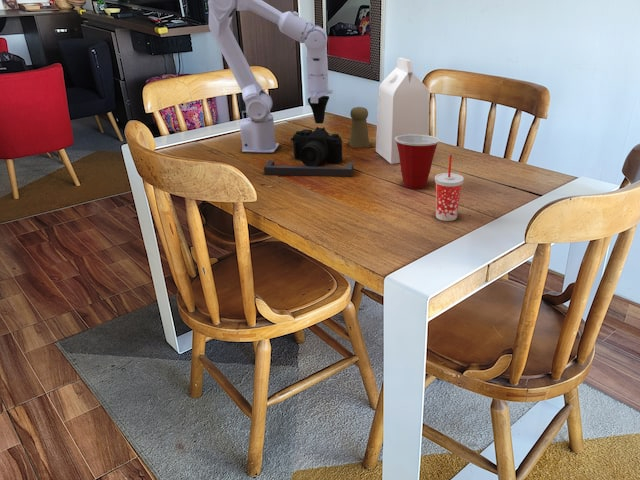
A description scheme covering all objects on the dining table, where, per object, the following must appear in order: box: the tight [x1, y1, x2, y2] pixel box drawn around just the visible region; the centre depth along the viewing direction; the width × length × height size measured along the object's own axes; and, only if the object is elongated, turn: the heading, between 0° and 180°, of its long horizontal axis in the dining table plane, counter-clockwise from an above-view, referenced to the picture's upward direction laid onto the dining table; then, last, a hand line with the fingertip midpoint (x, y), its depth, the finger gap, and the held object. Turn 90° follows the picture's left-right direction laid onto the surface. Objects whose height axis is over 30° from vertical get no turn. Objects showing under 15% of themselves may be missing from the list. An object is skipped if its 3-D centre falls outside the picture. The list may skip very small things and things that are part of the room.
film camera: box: [290, 126, 344, 167], centre depth 155 cm, size 15×10×9 cm, turn 72°
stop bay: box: [263, 159, 355, 177], centre depth 151 cm, size 23×6×2 cm, turn 85°
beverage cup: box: [434, 154, 465, 222], centre depth 122 cm, size 6×6×14 cm
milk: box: [375, 56, 430, 165], centre depth 156 cm, size 12×12×26 cm
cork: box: [349, 106, 371, 149], centre depth 169 cm, size 6×6×11 cm
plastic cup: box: [395, 134, 440, 190], centre depth 140 cm, size 11×11×12 cm
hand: (319, 122), depth 165 cm, fingers closed
